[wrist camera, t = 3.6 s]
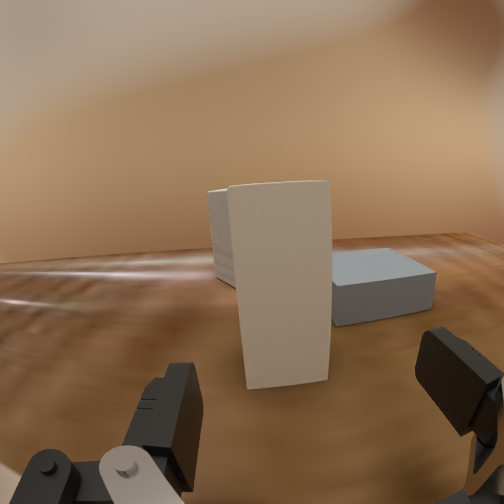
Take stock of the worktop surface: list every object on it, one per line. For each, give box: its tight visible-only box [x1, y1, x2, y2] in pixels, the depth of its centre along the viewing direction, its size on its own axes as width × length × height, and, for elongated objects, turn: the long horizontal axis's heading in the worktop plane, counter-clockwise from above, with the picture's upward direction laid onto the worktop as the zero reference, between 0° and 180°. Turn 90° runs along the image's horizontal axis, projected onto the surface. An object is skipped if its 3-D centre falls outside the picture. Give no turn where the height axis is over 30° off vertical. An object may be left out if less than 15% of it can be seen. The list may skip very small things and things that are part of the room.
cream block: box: [227, 180, 332, 390], centre depth 19 cm, size 6×6×13 cm
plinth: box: [331, 248, 436, 327], centre depth 30 cm, size 11×11×4 cm
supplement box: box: [207, 189, 236, 288], centre depth 39 cm, size 7×7×13 cm
